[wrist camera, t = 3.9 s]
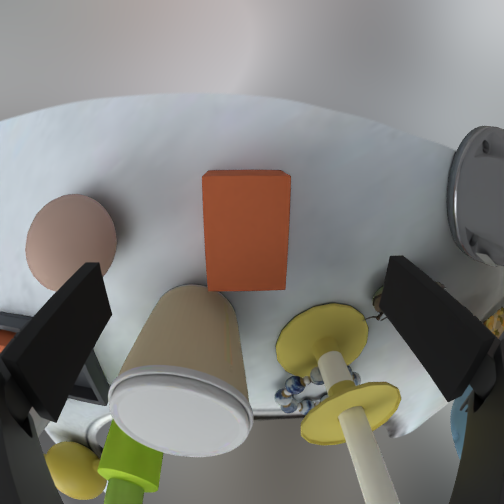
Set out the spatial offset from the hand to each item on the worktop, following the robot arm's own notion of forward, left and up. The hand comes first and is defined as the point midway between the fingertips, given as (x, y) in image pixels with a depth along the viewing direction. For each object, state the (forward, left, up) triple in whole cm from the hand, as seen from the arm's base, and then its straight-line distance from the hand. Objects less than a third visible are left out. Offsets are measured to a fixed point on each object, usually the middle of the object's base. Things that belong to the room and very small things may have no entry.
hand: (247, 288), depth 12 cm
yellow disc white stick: (-8, +13, -11) cm, 19 cm away
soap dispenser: (+11, +20, -11) cm, 25 cm away
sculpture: (+34, +48, -10) cm, 60 cm away
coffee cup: (+4, +9, -11) cm, 15 cm away
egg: (+13, 0, -11) cm, 17 cm away
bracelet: (-8, +19, -10) cm, 23 cm away
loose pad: (0, 0, -11) cm, 11 cm away
